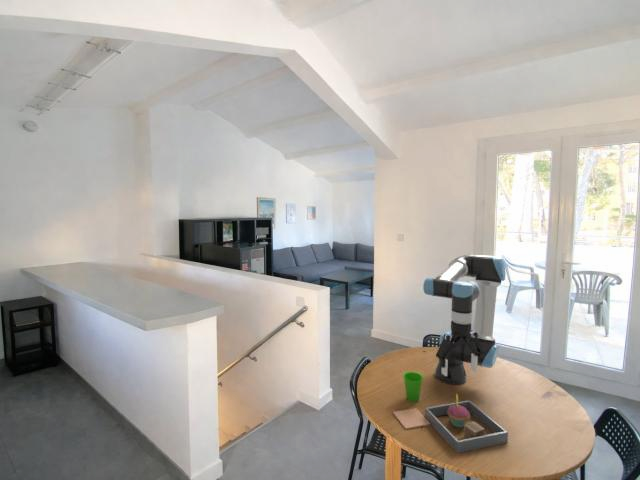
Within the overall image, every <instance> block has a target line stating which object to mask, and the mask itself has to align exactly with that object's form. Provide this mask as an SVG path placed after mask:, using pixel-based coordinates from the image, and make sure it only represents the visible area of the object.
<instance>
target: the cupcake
mask: <svg viewBox="0 0 640 480" xmlns="http://www.w3.org/2000/svg"><path fill="white" fill-rule="evenodd" d="M455 398H456V399H455V401H456V402H455V403H456V404H457V405H456V404H454V405H452V406H450V407H449V408H448V411H447V414H446V415H448V417H449V419H450V421H451V424H452V425H453V426H455V427H458V428H462V427H464V425H465V424H466V421H469V420H470V418H471V412H470V411H469V410H467V409H466V408H465V407H463V406H461V405H458V402H459V395H458V394H455Z"/></svg>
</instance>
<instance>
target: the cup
mask: <svg viewBox="0 0 640 480" xmlns="http://www.w3.org/2000/svg"><path fill="white" fill-rule="evenodd" d="M402 378H403V379H404V382H403V383H404V387H405V393H406V394H405V396H406V399H407V400H408V401H409V402H411V403H417V402H419V399H420V394H421V389H422V386H423V380H424V375H422V374H421V373H419V372H417V371H406V372H404V373H403V374H402Z"/></svg>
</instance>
